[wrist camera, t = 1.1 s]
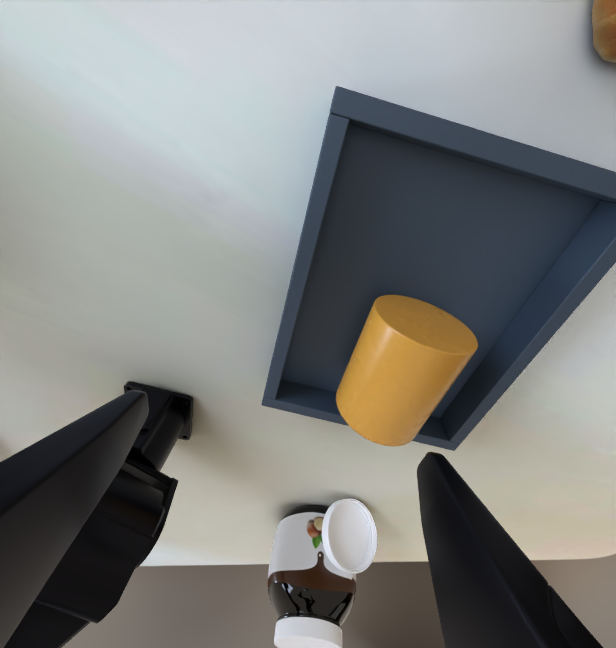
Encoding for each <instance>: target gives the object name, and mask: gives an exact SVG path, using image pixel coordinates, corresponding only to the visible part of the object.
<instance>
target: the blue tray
mask: <svg viewBox="0 0 616 648" xmlns="http://www.w3.org/2000/svg"><path fill="white" fill-rule="evenodd" d="M615 262H616V172H613V171H610V170H607V169H604V168H600V167H597V166H594V165H591V164H587V163H584V162H581V161H578V160H574V159H571V158H568V157H565V156H562V155H558V154H555V153H552V152H549V151H545V150H542V149H539V148H536V147H532V146H529V145H526V144H523V143H520V142H516V141H513V140H510V139H507V138H503V137H500V136H497V135H494V134H490V133H487V132H484V131H481V130H477V129H474V128H471V127H468V126H465V125H461V124H458V123H455V122H452V121H448V120H445V119H442V118H439V117H435V116H432V115H429V114H426V113H423V112H419V111H416V110H413V109H410V108H406V107H403V106H400V105H397V104H393V103H390V102H387V101H384V100H380V99H377V98H374V97H371V96H368V95H364V94H361V93H358V92H355V91H351V90H348V89H345V88H342V87H338V86H336V88H335V92H334V96H333V100H332V105H331V109H330V115H329V118H328V122H327V126H326V131H325V135H324V139H323V143H322V148H321V152H320V156H319V161H318V165H317V169H316V173H315V178H314V182H313V186H312V190H311V195H310V199H309V203H308V208H307V212H306V216H305V220H304V225H303V229H302V233H301V238H300V242H299V246H298V250H297V255H296V259H295V263H294V268H293V272H292V276H291V280H290V285H289V289H288V293H287V298H286V302H285V306H284V310H283V315H282V319H281V323H280V328H279V332H278V336H277V340H276V345H275V349H274V353H273V358H272V362H271V366H270V370H269V375H268V379H267V383H266V388H265V392H264V396H263V400H262V405H263V406H267V407H272V408H276V409H280V410H284V411H288V412H293V413H297V414H301V415H305V416H310V417H314V418H318V419H322V420H327V421H331V422H335V423H339V424H343V425H348V424H347V422H346V421H345V420H344V419H343V417H342V416H341V414H340V412H339V410H338V407H337V403H336V393H337V389H338V387H339V385H340V382H341V380H342V377H343V375H344V373H345V370H346V368H347V366H348V363H349V361H350V358H351V356H352V354H353V351H354V349H355V346H356V344H357V342H358V339H359V337H360V335H361V332H362V330H363V327H364V325H365V323H366V320H367V318H368V316H369V313H370V311H371V308H372V306H373V304H374V302H375V300H376V299H377V298H378V297H380V296H383V295H401V296H407V297H411V298H415V299H418V300H421V301H424V302H426V303H429V304H431V305H434V306H436V307H438V308H440V309H442V310H444V311H446V312H447V313H449V314H451V315H452V316H454V317H455V318H457V319H458V320H459V321H461V322H462V323H463V324H464V325H466V326H467V327H468V328H469V329H470V330H471V331H472V333H473V334H474V335H475V337H476V339H477V342H478V348H477V350H476V351H475V353H474V354H473V356H472V357H471V359H470V360H469V361H468V363H467V364H466V366H465V367H464V368H463V370H462V371H461V373H460V374H459V376H458V377H457V378H456V380H455V381H454V383H453V384H452V385H451V387H450V388H449V390H448V391H447V392H446V394H445V395H444V397H443V398H442V400H441V401H440V402H439V404H438V405H437V407H436V408H435V409H434V411H433V412H432V414H431V415H430V417H429V418H428V419H427V421H426V422H425V424H424V425H423V426H422V428H421V429H420V431H419V432H418V433H417V435H416V436H415V438H414V439H413V440H412V441H415V442H420V443H424V444H428V445H432V446H437V447H441V448H445V449H449V450H453V451H454V450H456V448H457V447H458V446H459V445H460V443H462V441H463V440H464V439H465V438H466V437H467V436H468V434H469V433H470V432H471V431H472V430H473V429H474V427H475V426H476V425H477V424H478V423H479V422H480V420H481V419H482V418H483V417H484V416H485V414H486V413H487V412H488V411H489V410H490V409H491V407H492V406H493V405H494V404H495V403H496V402H497V400H498V399H499V398H500V397H501V396H502V395H503V393H504V392H505V391H506V390H507V389H508V388H509V386H510V385H511V384H512V383H513V382H514V381H515V379H516V378H517V377H518V376H519V375H520V374H521V372H522V371H523V370H524V369H525V368H526V367H527V365H528V364H529V363H530V362H531V361H532V359H533V358H534V357H535V356H536V355H537V354H538V352H539V351H540V350H541V349H542V348H543V347H544V345H545V344H546V343H547V342H548V341H549V340H550V338H551V337H552V336H553V335H554V334H555V333H556V331H557V330H558V329H559V328H560V327H561V326H562V324H563V323H564V322H565V321H566V320H567V319H568V317H569V316H570V315H571V314H572V313H573V312H574V310H575V309H576V308H577V307H578V306H579V304H580V303H581V302H582V301H583V300H584V299H585V297H586V296H587V295H588V294H589V293H590V292H591V290H592V289H593V288H594V287H595V286H596V285H597V283H598V282H599V281H600V280H601V279H602V278H603V276H604V275H605V274H606V273H607V272H608V271H609V269H610V268H611V267H612V266H613V265H614V264H615ZM348 426H349V425H348Z"/></svg>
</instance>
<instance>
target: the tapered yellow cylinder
mask: <svg viewBox="0 0 616 648" xmlns="http://www.w3.org/2000/svg"><path fill="white" fill-rule="evenodd" d="M477 348H478V342H477V339H476V337H475V335H474V334H473V333H472V331H471V330H470V329H469V328H468V327H467V326H466V325H464V324H463V323H462V322H461V321H459V320H458V319H457V318H455V317H454V316H452V315H451V314H449V313H447V312H446V311H444V310H442V309H440V308H438V307H436V306H434V305H431V304H429V303H426V302H424V301H421V300H418V299H415V298H411V297H407V296H401V295H383V296H380V297H378V298H377V299H376V300H375V302H374V304H373V306H372V308H371V311H370V313H369V316H368V318H367V320H366V323H365V325H364V327H363V330H362V332H361V335H360V337H359V339H358V342H357V344H356V346H355V349H354V351H353V354H352V356H351V358H350V361H349V363H348V366H347V368H346V370H345V373H344V375H343V377H342V380H341V382H340V385H339V387H338V389H337V393H336V403H337V407H338V410H339V412H340V414H341V416H342V417H343V419H344V420H345V421H346V422H347V424H348V425H349V426H350V427H351V428H352V429H353V430H355V431H356V432H357V433H358V434H360V435H361V436H363V437H364V438H366V439H368V440H370V441H372V442H375V443H378V444H381V445H386V446H401V445H405V444H407V443H409V442H410V441H412V440H413V439H414V438H415V436H416V435H417V433H418V432H419V431H420V429H421V428H422V426H423V425H424V424H425V422H426V421H427V419H428V418H429V417H430V415H431V414H432V412H433V411H434V409H435V408H436V407H437V405H438V404H439V402H440V401H441V400H442V398H443V397H444V395H445V394H446V392H447V391H448V390H449V388H450V387H451V385H452V384H453V383H454V381H455V380H456V378H457V377H458V376H459V374H460V373H461V371H462V370H463V368H464V367H465V366H466V364H467V363H468V361H469V360H470V359H471V357H472V356H473V354H474V353H475V351H476V350H477Z"/></svg>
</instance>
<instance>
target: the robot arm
mask: <svg viewBox="0 0 616 648" xmlns="http://www.w3.org/2000/svg"><path fill="white" fill-rule="evenodd" d="M124 392H125V394H123V395H121V396H119V397H118V398H116V399H114V400H112V401H110V402H108V403H107V404H105V405H103V406H101V407H99V408H98V409H96V410H94V411H92V412H90V413H89V414H87V415H85V416H83V417H81V418H80V419H78V420H76V421H74V422H72V423H71V424H69V425H67V426H65V427H63V428H62V429H60V430H58V431H56V432H54V433H53V434H51V435H49V436H47V437H45V438H44V439H42V440H40V441H38V442H36V443H34V444H33V445H31V446H29V447H27V448H25V449H24V450H22V451H20V452H18V453H16V454H15V455H13V456H11V457H9V458H7V459H6V460H4V461H2V462H0V648H61V647H63V646H64V645H65V644H66V643H67V642H68V641H69V640H71V639H72V638H73V637H74V636H75V635H76V634H77V633H78V632H80V631H81V630H82V629H83V628H84V627H85V626H87V625H88V624H89V623H90V622H94V623H98V622H100V621H101V620H102V619H103V618H104V617H105V616H106V615H107V614H108V613H109V612H110V611H111V610H112V609H113V608H114V607H115V606H116V604H117V603H118V601H119V599H120V597H121V595H122V593H123V591H124V589H125V587H126V585H127V583H128V581H129V579H130V577H131V575H132V573H133V571H134V569H136V568H137V567H138V566H139V565H140V564H141V563H142V562H143V561H144V560H145V559H146V557H147V556H148V555H149V553H150V552H151V550H152V549H153V547H154V545H155V544H156V542H157V540H158V538H159V536H160V534H161V532H162V530H163V527H164V525H165V522H166V518H167V515H168V512H169V509H170V506H171V503H172V500H173V496H174V493H175V490H176V487H177V484H178V480H176V479H174V478H170V477H168V476H167V475H165V474H163V473H161V472H160V470H161V468H162V466H163V465H164V463H165V461H166V459H167V457H168V456H169V454H170V452H171V450H172V448H173V446H174V445H175V443H176V441H177V439H178V438H179V439H183V440H189V439H190V437H191V430H192V410H193V398H192V397H191V396H189V395H185V394H180V393H176V392H172V391H168V390H163V389H159V388H155V387H151V386H146V385H142V384H138V383H134V382H127V383H126V384H125V386H124ZM417 479H418V490H419V501H420V512H421V521H422V528H423V534H424V539H425V544H426V550H427V555H428V560H429V565H430V571H431V576H432V581H433V587H434V592H435V597H436V602H437V607H438V613H439V618H440V623H441V628H442V633H443V638H444V644H445V648H603V647H602V646H601V645H600V643H599V642H598V641H597V640H596V639H595V638H594V637H593V635H592V634H590V632H589V631H588V630H587V629H586V627H585V626H584V625H583V624H582V623H581V621H580V620H579V619H578V618H577V617H576V616H575V614H574V613H573V612H572V611H571V610H570V608H569V607H568V606H567V605H566V604H565V602H564V601H563V600H562V599H561V598H560V596H559V595H558V594H557V593H556V592H555V591H554V589H553V588H552V587H551V586H550V585H548V582H547V581H546V580H545V578H544V577H543V576H542V575H541V574H540V572H539V571H538V570H537V569H536V567H535V566H534V565H533V564H532V563H531V561H530V560H529V559H528V558H527V556H526V555H525V554H524V553H523V552H522V550H521V549H520V548H519V547H518V546H517V544H516V543H515V542H514V541H513V539H512V538H511V537H510V536H509V535H508V533H507V532H506V531H505V530H504V529H503V527H502V526H501V525H500V524H499V522H498V521H497V520H496V519H495V518H494V516H493V515H492V514H491V513H490V512H489V510H488V509H487V508H486V507H485V505H484V504H483V503H482V502H481V501H480V499H479V498H478V497H477V496H476V495H475V493H474V492H473V491H472V490H471V488H470V487H469V486H468V485H467V484H466V482H465V481H464V480H463V479H462V477H461V476H460V475H459V474H458V473H457V471H456V470H455V469H454V468H453V467H452V465H451V464H450V463H449V462H448V460H447V459H446V458H445V457H444V456H443V455H442V454H439V453H434V452H428V453H427V454H426V456H425V457H424V458H423V460H422V461H421V463H420V464H419V466H418V468H417Z"/></svg>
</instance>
